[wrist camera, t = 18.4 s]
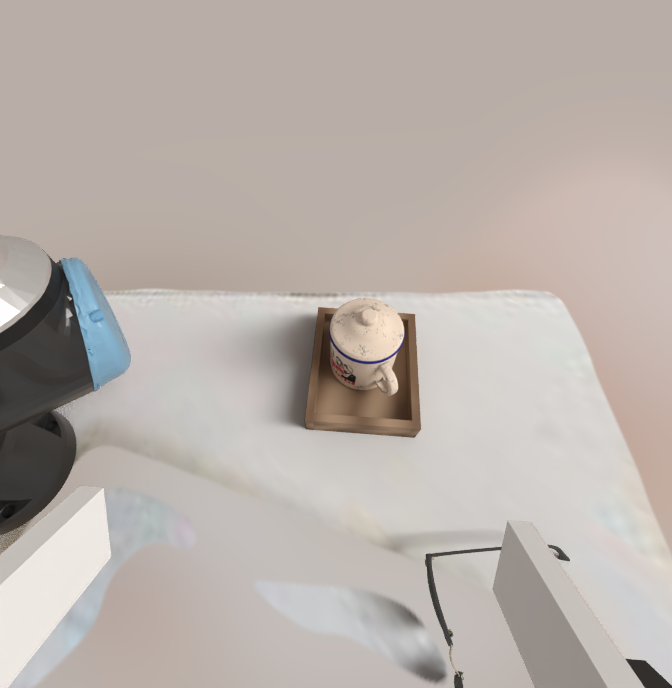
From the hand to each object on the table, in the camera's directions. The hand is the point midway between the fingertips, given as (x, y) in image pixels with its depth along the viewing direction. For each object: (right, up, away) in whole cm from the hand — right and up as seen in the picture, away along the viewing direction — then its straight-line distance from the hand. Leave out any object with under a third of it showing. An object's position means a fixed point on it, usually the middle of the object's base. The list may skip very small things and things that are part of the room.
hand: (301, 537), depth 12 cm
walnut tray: (+5, +2, +38) cm, 39 cm away
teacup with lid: (+5, +2, +38) cm, 38 cm away
